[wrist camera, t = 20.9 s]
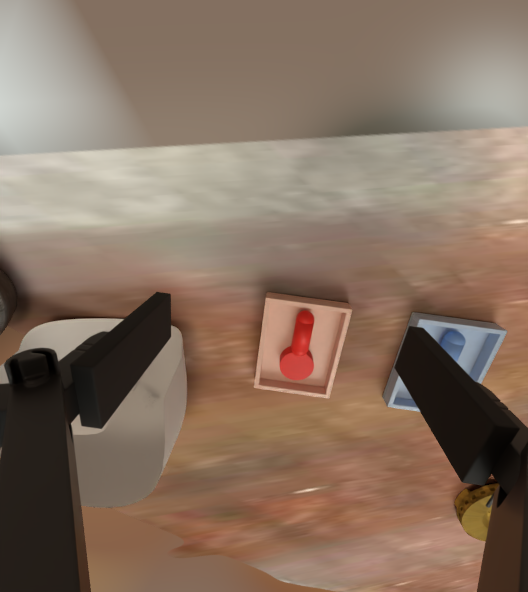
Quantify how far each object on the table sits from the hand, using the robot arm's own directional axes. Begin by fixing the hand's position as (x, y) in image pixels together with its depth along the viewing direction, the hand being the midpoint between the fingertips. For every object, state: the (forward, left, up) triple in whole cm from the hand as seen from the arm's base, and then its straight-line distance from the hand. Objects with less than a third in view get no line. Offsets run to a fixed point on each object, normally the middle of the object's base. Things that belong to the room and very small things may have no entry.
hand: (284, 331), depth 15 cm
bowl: (+21, -19, -19) cm, 34 cm away
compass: (+36, +40, -19) cm, 57 cm away
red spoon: (+10, +4, -18) cm, 21 cm away
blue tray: (+11, +22, -18) cm, 31 cm away
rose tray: (+11, +4, -18) cm, 22 cm away
